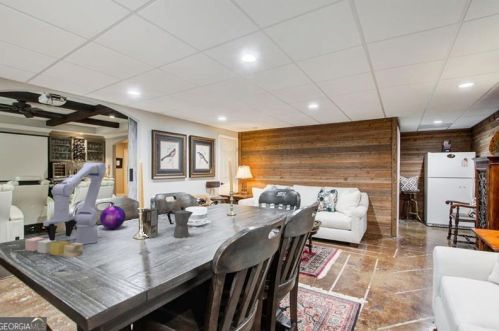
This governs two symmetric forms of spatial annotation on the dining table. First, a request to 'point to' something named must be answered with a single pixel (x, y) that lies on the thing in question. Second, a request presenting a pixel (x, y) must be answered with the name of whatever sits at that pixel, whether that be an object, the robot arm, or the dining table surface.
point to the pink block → (32, 243)
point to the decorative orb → (112, 217)
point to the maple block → (73, 250)
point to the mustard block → (58, 248)
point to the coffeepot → (180, 222)
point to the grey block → (45, 246)
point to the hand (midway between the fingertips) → (60, 238)
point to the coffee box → (150, 222)
